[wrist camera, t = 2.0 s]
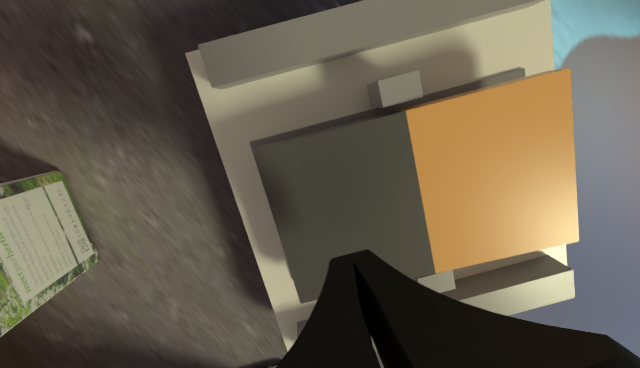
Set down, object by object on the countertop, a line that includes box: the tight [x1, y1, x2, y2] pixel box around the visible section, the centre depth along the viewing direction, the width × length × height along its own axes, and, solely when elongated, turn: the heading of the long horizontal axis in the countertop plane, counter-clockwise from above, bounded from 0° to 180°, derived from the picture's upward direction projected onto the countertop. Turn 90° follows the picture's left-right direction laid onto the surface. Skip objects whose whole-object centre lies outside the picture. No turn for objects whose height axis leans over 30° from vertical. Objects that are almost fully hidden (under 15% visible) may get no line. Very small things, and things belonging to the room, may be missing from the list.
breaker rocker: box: [252, 68, 579, 304], centre depth 13 cm, size 12×7×1 cm, turn 105°
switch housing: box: [185, 0, 575, 351], centre depth 16 cm, size 16×16×6 cm
